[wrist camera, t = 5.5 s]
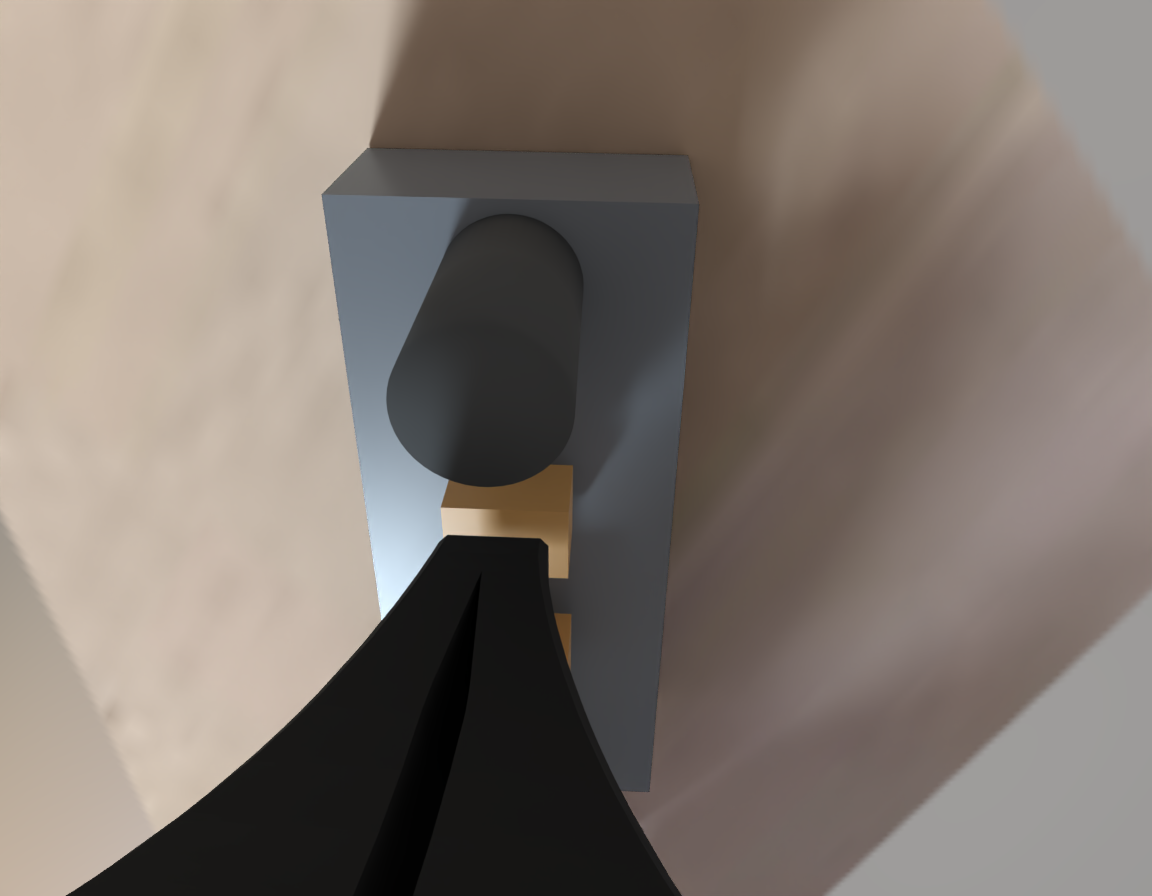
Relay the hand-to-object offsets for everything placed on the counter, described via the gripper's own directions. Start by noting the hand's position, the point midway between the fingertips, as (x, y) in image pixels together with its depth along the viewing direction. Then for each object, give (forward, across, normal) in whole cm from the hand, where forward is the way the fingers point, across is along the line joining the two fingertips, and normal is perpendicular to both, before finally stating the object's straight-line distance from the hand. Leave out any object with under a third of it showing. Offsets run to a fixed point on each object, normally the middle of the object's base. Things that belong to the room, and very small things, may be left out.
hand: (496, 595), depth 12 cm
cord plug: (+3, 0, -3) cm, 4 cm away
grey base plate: (+5, 0, +2) cm, 5 cm away
